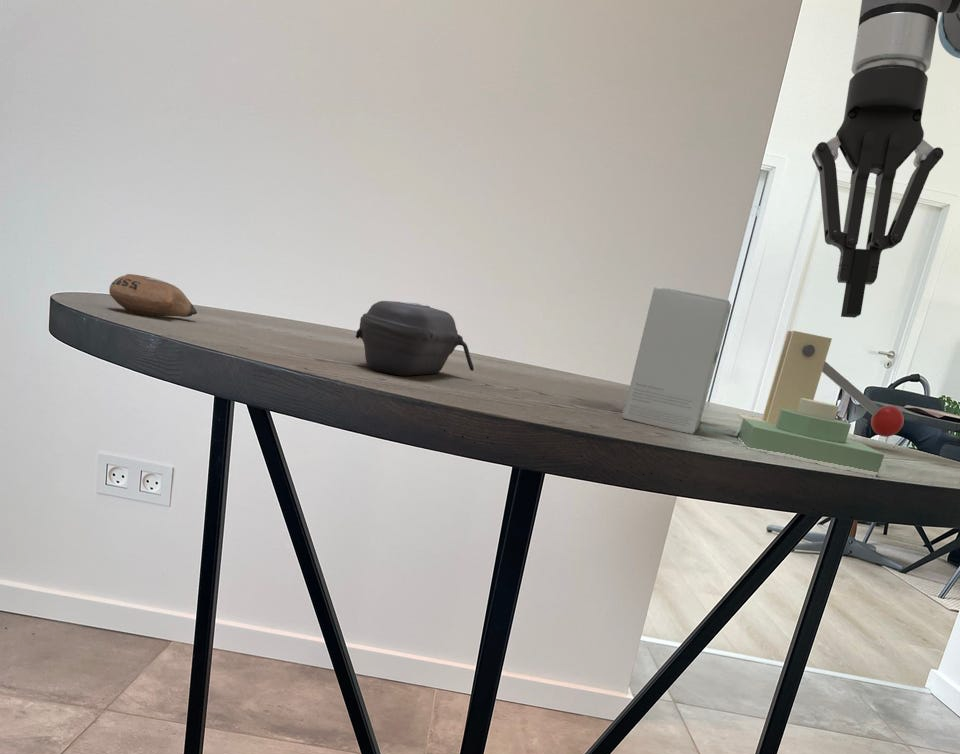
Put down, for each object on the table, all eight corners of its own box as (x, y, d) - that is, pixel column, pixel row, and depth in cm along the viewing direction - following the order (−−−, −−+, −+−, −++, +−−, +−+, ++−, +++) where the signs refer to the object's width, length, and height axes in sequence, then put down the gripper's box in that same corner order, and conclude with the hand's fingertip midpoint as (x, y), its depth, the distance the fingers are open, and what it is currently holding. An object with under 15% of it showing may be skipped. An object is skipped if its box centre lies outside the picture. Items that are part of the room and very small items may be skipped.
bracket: (815, 440, 119) (845, 342, 115) (827, 447, 112) (859, 343, 108) (735, 423, 120) (762, 326, 116) (741, 429, 113) (771, 325, 109)
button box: (854, 463, 98) (866, 424, 96) (876, 477, 88) (891, 434, 87) (737, 438, 99) (748, 399, 97) (747, 450, 89) (759, 406, 88)
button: (829, 422, 94) (835, 404, 93) (836, 426, 90) (842, 407, 90) (792, 414, 94) (798, 396, 94) (798, 417, 91) (804, 399, 90)
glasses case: (379, 349, 107) (414, 285, 104) (457, 402, 107) (494, 340, 104) (323, 348, 90) (364, 272, 87) (416, 411, 90) (460, 337, 87)
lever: (883, 441, 116) (906, 417, 115) (891, 444, 113) (914, 420, 111) (782, 354, 115) (804, 329, 114) (786, 355, 111) (809, 329, 110)
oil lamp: (193, 333, 100) (193, 328, 108) (202, 295, 99) (201, 292, 106) (103, 305, 97) (109, 302, 104) (111, 265, 96) (117, 264, 103)
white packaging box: (694, 435, 92) (730, 299, 88) (620, 419, 94) (652, 284, 90) (700, 430, 99) (733, 303, 95) (630, 415, 101) (660, 289, 97)
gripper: (944, 90, 101) (903, 324, 106) (816, 85, 103) (783, 315, 108) (968, 63, 94) (924, 315, 99) (830, 58, 95) (794, 306, 100)
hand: (850, 315), depth 103 cm, fingers closed
